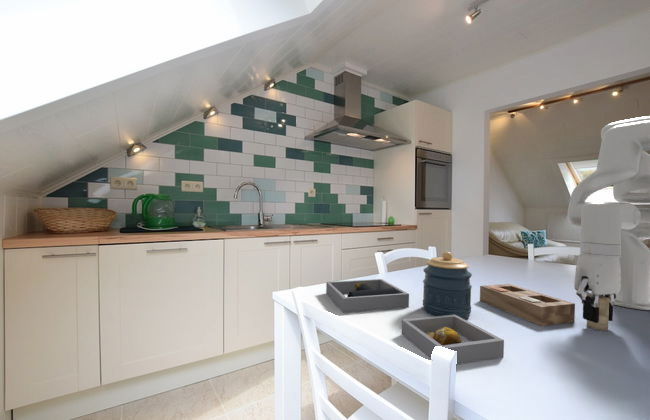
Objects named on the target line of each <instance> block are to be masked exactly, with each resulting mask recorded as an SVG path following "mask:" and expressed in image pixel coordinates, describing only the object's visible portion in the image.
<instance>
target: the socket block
mask: <svg viewBox="0 0 650 420" xmlns="http://www.w3.org/2000/svg"><path fill="white" fill-rule="evenodd" d="M479 302H481V303H484V304H487V305H489V306H491V307H494V308H496V309H498V310H501V311H503V312H506V313H509V314H511V315H513V316H515V317H518V318H520V319H523V320H526V321H528V322H531V323H532V324H535V325H538V326H539V327H543V326H544V327H546V326H553V325H560V324H568V323H569V324H570V323H575V319H576V315H575V314H576V302H575V303H574V302H571V301H568V300H565V299H561V298H557V297H555V296H551V295H548V294H545V293H544V294H543V293H540V292H538V291H534V290H531V289H529V288H528V289H527V288H525V287H521V286H517V285H515V284H511V283H506V284H503V283H501V284H499V283H498V284H488V285H487V284H485V285H480V286H479Z"/></svg>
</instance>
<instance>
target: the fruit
mask: <svg viewBox="0 0 650 420" xmlns="http://www.w3.org/2000/svg"><path fill="white" fill-rule="evenodd" d="M425 334H427V335H428V336H430V337H431V338H432V339H434V340H435V341H436V342H438V343H439V344H441V345H442V346H443V345H451V344H458V343H462V339H461V337H460V335H459V333H458V332H456V331H454V330H452V329H450V328H447V327H443V328H441V329H438V330H437V331H436V332H435V333H433V332H426V333H425Z"/></svg>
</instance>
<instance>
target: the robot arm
mask: <svg viewBox="0 0 650 420" xmlns="http://www.w3.org/2000/svg"><path fill="white" fill-rule="evenodd" d="M600 137H601V143H600V147H599V148H600V149H599V154H598V158H597V165H596V169H595V171H593V172H592V173H590V174H588V175H587V176H586V177H584V178H583V179H582V180H581V181H580V182H579V183H578V184H577V185H576V186H575V187H574V188H573V190H572V193H570V194H571V195H570V197H569V198H570V199H569V203H568V208H567V221H568V223H569V224H570V225H571V226H572V227H575V228H578V229H580V241H579V242H580V245H579V247H580V249H579V254H578V258H577V261H576V266H575V274H574V284H573V285H574V286H573V287H574V290H575V291H576V293H575V294H576V295H577V296H578V297H579V298H580V300H581V304H582V319H584V320H586V321H587V320H589V321H592V322H595V323H598V322H599V307H597V304H598V298H599V295H600V296H604V297H607V298H609V321H608V322H612V321H614V319H613V318H614V306H619V307H621V308H622V307H624V308H626V309H627V308H628V309H633V310H641V311H650V248H649V247H648V246H647V245H646V244H645V243H644V242H643V241H641V239H650V207H637V206H636V205H635V204H644V205H645V204H649V205H650V153H648V151H650V115H649V116H641V117H635V118H630V119H624V120H618V121H615V122H611V123H608V124H606V125H604V127H602V128H601V131H600ZM611 186H612V188H613V189H612V192H613V193H612V194H613V197H614V200H615V202H612V201H611V202H610V201H609V202H608V201H600V202H599V201H594V202H593V201H588V202H587V201H586V200H587V199H588V198H589V197H590V196H591V195H592V194H594V193H596V192H598V191H601V190H603V189H606V188H609V187H611ZM589 291H590V292H589ZM588 295H590V296H593V299H591V297H589V296H588Z"/></svg>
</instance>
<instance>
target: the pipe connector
mask: <svg viewBox="0 0 650 420" xmlns="http://www.w3.org/2000/svg"><path fill="white" fill-rule="evenodd" d="M386 294H398V292H397V290H396V289H395V288H386V289H373V288H372V287H370V285H369V284H367V283H360V284H359V283H357V284H355V291H350V292H348V293H347V296H346V297H358V296H372V295H386Z"/></svg>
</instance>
